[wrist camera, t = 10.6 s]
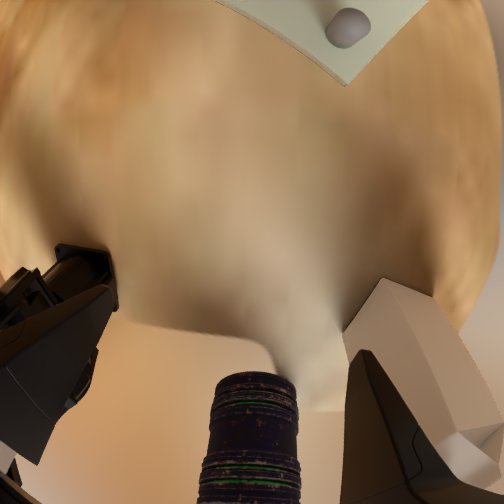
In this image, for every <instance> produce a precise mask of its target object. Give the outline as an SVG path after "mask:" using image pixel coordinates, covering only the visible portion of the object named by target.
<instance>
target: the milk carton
mask: <svg viewBox="0 0 504 504" xmlns="http://www.w3.org/2000/svg"><path fill="white" fill-rule="evenodd" d="M342 338H343V342H344V345H345V349H346V353H347V357H348V361H349V365H350V363H351V361H352V360H353V358H354V357H355V355H356V354H357V352H358V351H359V350H360V349H365V350H370V351H372V352H373V354H374V355H375V357H376V358H377V360H378V361H379V363H380V364H381V366H382V367H383V369H384V370H385V372H386V373H387V375H388V376H389V378H390V379H391V381H392V383H393V384H394V386H395V387H396V389H397V390H398V392H399V393H400V395H401V396H402V398H403V400H404V401H405V403H406V404H407V406H408V407H409V409H410V411H411V412H412V414H413V415H414V417H415V419H416V420H417V422H418V425H420V427H421V428H422V430H423V431H424V433H425V435H426V436H427V438H428V439H429V441H430V442H431V444H432V445H433V447H434V448H435V449H436V451H437V452H438V454H439V455H440V456H441V458H442V459H443V460H444V462H445V463H446V464H447V466H448V467H449V468H450V470H451V471H452V472H453V474H454V475H455V476H456V477H457V478H458V479H460V480H461V481H463V482H464V483H467V484H470V485H472V486H475V487H478V488H481V489H485V488H487V487H488V486H490V485H492V484H493V483H495V482H496V481H498V480H500V479H501V478H502V477H503V476H502V473H501V469H500V466H499V459H500V454H501V448H502V441H503V433H504V420H503V417H502V415H501V413H500V411H499V409H498V406H497V404H496V402H495V400H494V398H493V396H492V394H491V392H490V390H489V388H488V386H487V384H486V382H485V380H484V378H483V376H482V374H481V373H480V371H479V369H478V367H477V365H476V364H475V362H474V360H473V358H472V357H471V355H470V353H469V351H468V350H467V348H466V346H465V345H464V343H463V341H462V340H461V338H460V336H459V335H458V333H457V332H456V330H455V328H454V327H453V325H452V324H451V322H450V321H449V319H448V318H447V316H446V315H445V313H444V312H443V310H442V309H441V307H440V306H439V304H438V303H437V301H436V300H435V299H434V298H432V297H430V296H427V295H425V294H422V293H420V292H418V291H415V290H413V289H410V288H408V287H405V286H403V285H400V284H398V283H395V282H393V281H390V280H388V279H385V278H382V279H381V280H380V281H379V283H378V284H377V286H376V287H375V289H374V290H373V292H372V293H371V295H370V296H369V298H368V299H367V301H366V302H365V303H364V305H363V306H362V308H361V309H360V311H359V312H358V313H357V315H356V316H355V318H354V319H353V320H352V322H351V323H350V325H349V326H348V327H347V329H346V330H345V331H344V333H343V334H342Z"/></svg>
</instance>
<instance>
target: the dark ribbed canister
mask: <svg viewBox="0 0 504 504" xmlns="http://www.w3.org/2000/svg"><path fill="white" fill-rule="evenodd" d="M296 398H297V397H296V389H295V387H294V385H293V384H292V383H291V382H290V381H288V380H287V379H285V378H283V377H281V376H278V375H275V374H272V373H267V372H256V371H253V372H251V371H250V372H240V373H236V374H232V375H229V376H227V377H225V378H224V379H222V380H221V381H220V382H219V383H218V384H217V386H216V389H215V397H214V401H213V404H212V407H211V412H210V424H209V430H210V438H209V444H208V450H207V456H206V457H205V458H204V460H203V463H202V472H201V473H200V479H199V485H200V486H199V492H198V493H199V498H197V504H300V502H299V499H300V498H301V492H300V490H301V478H300V471H301V468H300V463H299V462H298V460H297V440H296V436H297V434H298V420H299V415H298V414H299V413H298V407H297V401H296Z"/></svg>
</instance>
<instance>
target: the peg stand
mask: <svg viewBox="0 0 504 504" xmlns="http://www.w3.org/2000/svg"><path fill="white" fill-rule="evenodd" d="M215 1H217V2H219V3H221V4H223V5H225V6H227V7H229V8H230V9H232V10H234V11H236V12H238V13H240V14H242V15H243V16H245V17H247V18H249V19H250V20H252V21H254V22H256V23H257V24H259V25H261V26H262V27H264V28H266V29H267V30H269V31H270V32H272V33H273V34H275V35H277V36H278V37H280V38H281V39H283V40H284V41H286V42H287V43H289V44H290V45H291V46H293V47H294V48H296V49H297V50H298V51H300V52H301V53H303V54H304V55H305V56H307V57H308V58H309V59H311V60H312V61H313V62H315V63H316V64H317V65H319V66H320V67H321V68H322V69H324V70H325V71H326V72H327V73H329V74H330V75H331V76H332V77H333V78H335V79H336V80H337V81H338V82H339V83H341V84H342V85H343V86H346V85H349V84H350V83H351V82H352V80H353V79H354V78H355V77H356V76H357V75H358V74H359V73H360V72H361V71H362V69H363V68H364V67H365V66H366V65H367V64H368V63H369V62H370V61H371V60H372V59H373V58H374V56H375V55H376V54H377V53H378V52H379V51H380V50H381V49H382V48H383V47H384V46H385V45H386V44H387V43H388V42H389V40H390V39H391V38H392V37H393V36H394V35H395V34H396V33H397V32H398V31H399V30H400V29H401V28H402V27H403V26H404V25H405V24H406V23H407V22H408V21H409V20H410V19H411V18H412V17H413V16H414V15H415V14H416V13H417V12H418V11H419V10H420V9H421V8H422V7H423V6H424V5H425V4H426V3H427V2H428V1H429V0H215Z"/></svg>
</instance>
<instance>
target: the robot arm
mask: <svg viewBox="0 0 504 504" xmlns="http://www.w3.org/2000/svg"><path fill="white" fill-rule="evenodd" d="M59 249H60V250H59ZM55 253H56V258H57V262H56V263H55V264H54V265H53V266H52V267H51V268H50V269H49V270H48V271H47V272H46V273H45V274H43V275H42V276H41V274H40V271H39V269H38V268H35V269H34V270H32V271H30V270H27V269H26V268H24V267H21V268H20V269H19V270H18V271H17V272H16V273H14V274H13V275H12V276H11V277H10V278H9V279H8V280H7V281H6V282H5V283H4V284H3V285H2V286H1V287H0V504H41V503H40V502H39V501H37V500H36V499H35V498H33V497H32V496H30V495H29V494H28V493H27V492H25V491H24V490H23V489H22V488H21V486H22V481H21V478H20V475H19V471H18V468H17V464H16V460H15V458H14V457H15V455H16V453H18V454H19V455H21V456H22V457H24V458H25V459H27V460H29V461H30V462H32V463H33V464H35V465H36V466H37V465H38V464H39V461H40V459H41V456H42V454H43V452H44V449H45V447H46V445H47V442H48V440H49V438H50V436H51V433H52V431H53V429H54V427H55V424H56V422H57V421H58V420H59V419H60V417H61V416H62V415H63V414H64V413H65V412H66V411H67V410H68V409H70V408H72V407H73V406H74V405H76V404H77V402H78V401H80V400H81V399H82V398H83V396H84V395H85V394H86V392H87V391H88V389H89V387H90V384H91V380H92V376H93V372H94V367H95V363H96V359H97V355H98V351H99V350H98V349H97V348H96V346H97V344H98V342H99V340H100V338H101V336H102V333H103V331H104V329H105V327H106V324H107V322H108V320H109V318H110V316H111V314H112V312H116V311H117V310H118V308H119V304H118V294H117V289H116V283H115V277H114V275H113V270H112V263H111V256H110V254H109V253H108V252H106V251H101V250H94V249H88V248H82V247H76V246H70V245H64V244H58V245H56V246H55ZM104 256H105V257H106V258H104ZM340 504H504V495H500V494H496V493H493V492H490V491H487V490H484V489H481V488H478V487H475V486H472V485H470V484H467V483H464V482H463V481H461V480H460V479H458V478H457V477H456V476H455V475H454V474H453V472H452V471H451V470H450V468H449V467H448V466H447V464H446V463H445V462H444V460H443V459H442V458H441V456H440V455H439V454H438V452H437V451H436V449H435V448H434V447H433V445H432V444H431V442H430V441H429V439H428V438H427V436H426V435H425V433H424V431H423V430H422V428H421V427H420V425H418V422H417V420H416V419H415V417H414V415H413V414H412V412H411V411H410V409H409V407H408V406H407V404H406V403H405V401H404V400H403V398H402V396H401V395H400V393H399V392H398V390H397V389H396V387H395V386H394V384H393V383H392V381H391V379H390V378H389V376H388V375H387V373H386V372H385V370H384V369H383V367H382V366H381V364H380V363H379V361H378V360H377V358H376V357H375V355H374V354H373V352H372V351H370V350H365V349H360V350H359V351H358V352H357V354H356V355H355V357H354V358H353V360H352V361H351V363H350V366H349V372H348V382H347V391H346V400H345V428H344V453H343V471H342V484H341V495H340Z"/></svg>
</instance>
